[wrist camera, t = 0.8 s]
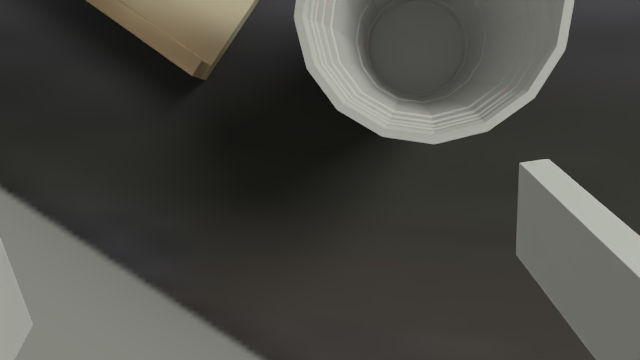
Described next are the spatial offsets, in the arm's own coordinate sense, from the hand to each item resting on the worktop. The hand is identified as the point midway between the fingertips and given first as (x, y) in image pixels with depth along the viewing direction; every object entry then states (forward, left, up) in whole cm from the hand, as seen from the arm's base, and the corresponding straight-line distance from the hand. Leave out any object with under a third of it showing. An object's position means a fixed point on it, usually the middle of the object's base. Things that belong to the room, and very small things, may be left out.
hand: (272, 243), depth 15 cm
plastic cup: (-9, -1, -21) cm, 23 cm away
